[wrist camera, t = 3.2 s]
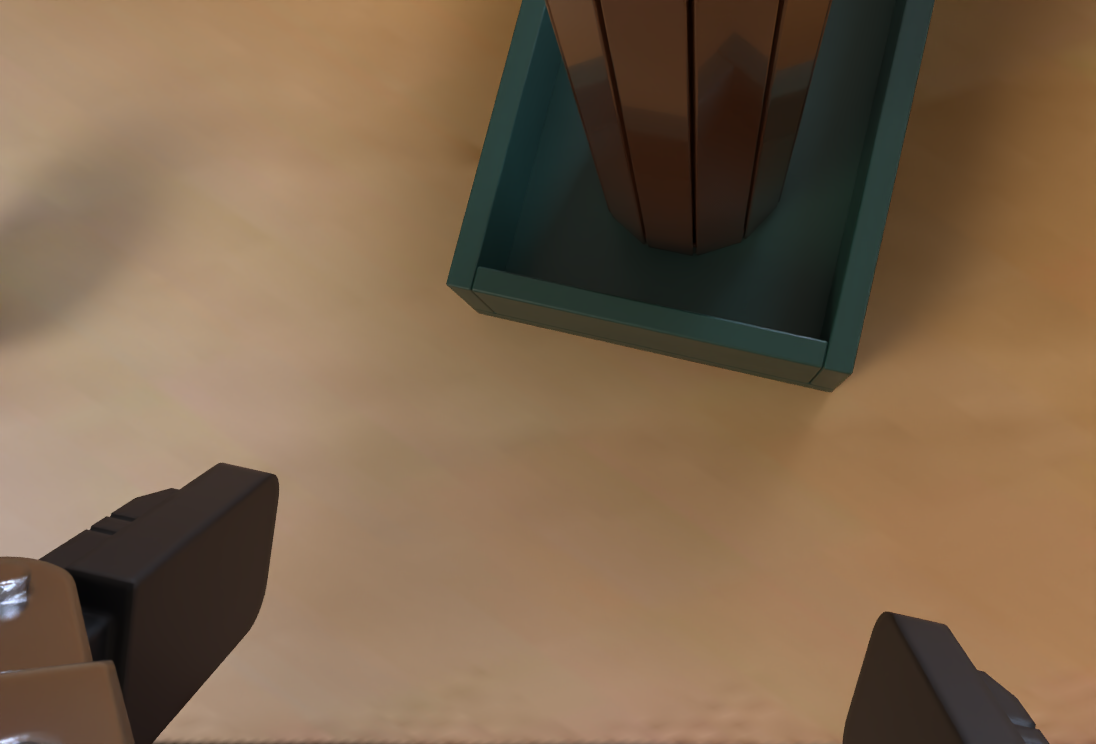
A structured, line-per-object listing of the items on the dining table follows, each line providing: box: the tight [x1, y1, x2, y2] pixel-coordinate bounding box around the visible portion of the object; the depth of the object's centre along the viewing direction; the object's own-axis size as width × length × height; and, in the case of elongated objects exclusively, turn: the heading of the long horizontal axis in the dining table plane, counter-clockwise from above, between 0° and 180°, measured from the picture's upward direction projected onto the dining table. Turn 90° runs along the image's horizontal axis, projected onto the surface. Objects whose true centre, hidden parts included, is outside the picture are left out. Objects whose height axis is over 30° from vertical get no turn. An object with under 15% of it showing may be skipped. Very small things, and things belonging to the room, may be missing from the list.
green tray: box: [446, 0, 935, 392], centre depth 30 cm, size 12×19×4 cm, turn 165°
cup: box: [545, 0, 833, 256], centre depth 23 cm, size 6×6×16 cm
